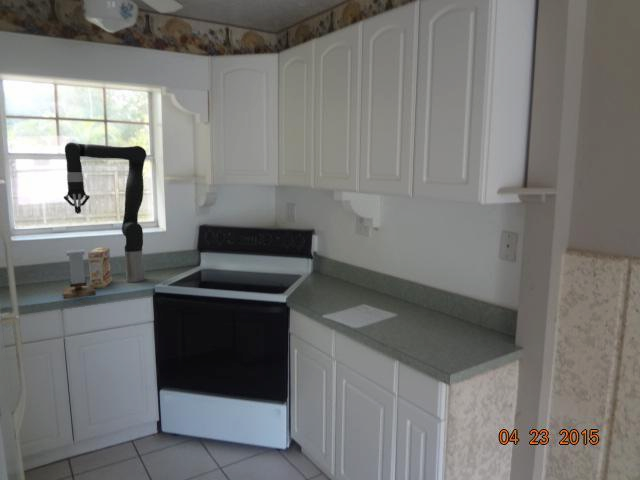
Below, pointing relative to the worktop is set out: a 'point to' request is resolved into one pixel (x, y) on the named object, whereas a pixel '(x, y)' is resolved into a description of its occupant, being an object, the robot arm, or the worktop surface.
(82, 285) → the thin charcoal panel
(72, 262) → the plastic sleeve
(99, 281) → the coffeecake box
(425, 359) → the worktop surface
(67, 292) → the walnut board
